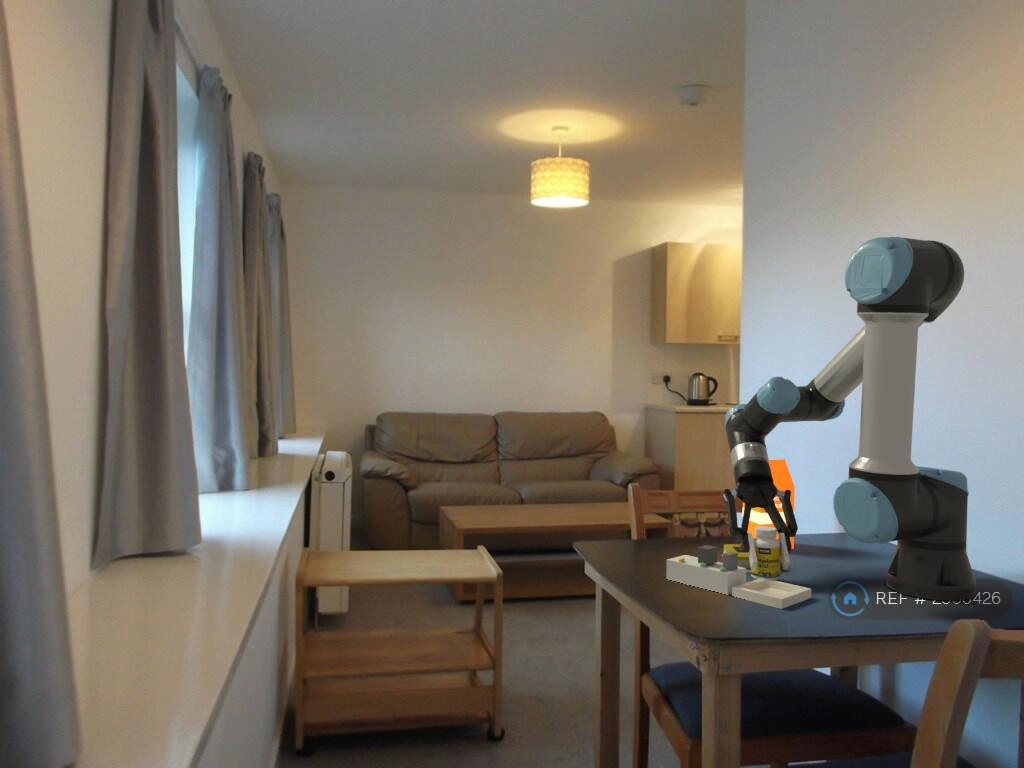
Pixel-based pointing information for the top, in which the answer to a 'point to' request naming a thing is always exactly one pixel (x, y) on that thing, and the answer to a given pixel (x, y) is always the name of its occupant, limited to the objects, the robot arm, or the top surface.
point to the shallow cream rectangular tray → (771, 593)
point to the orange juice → (782, 483)
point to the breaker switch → (707, 554)
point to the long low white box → (707, 573)
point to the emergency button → (739, 555)
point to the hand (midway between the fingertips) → (770, 565)
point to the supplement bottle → (766, 553)
